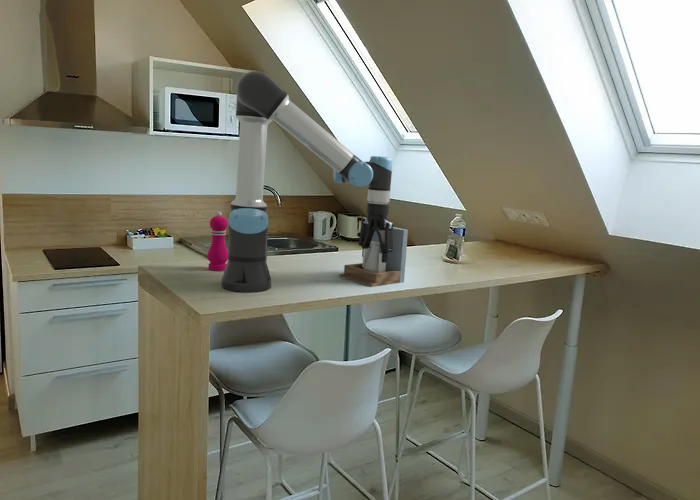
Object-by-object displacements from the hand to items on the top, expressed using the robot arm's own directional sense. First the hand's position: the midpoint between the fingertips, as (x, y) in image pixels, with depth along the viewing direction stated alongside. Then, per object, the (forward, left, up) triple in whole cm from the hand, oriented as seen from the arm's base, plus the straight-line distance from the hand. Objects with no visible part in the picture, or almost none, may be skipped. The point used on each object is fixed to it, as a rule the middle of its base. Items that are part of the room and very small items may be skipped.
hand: (373, 269), depth 200 cm
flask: (0, 0, -1) cm, 1 cm away
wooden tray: (-1, 0, -3) cm, 4 cm away
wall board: (+6, 0, -3) cm, 7 cm away
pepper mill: (-40, +36, -4) cm, 54 cm away
